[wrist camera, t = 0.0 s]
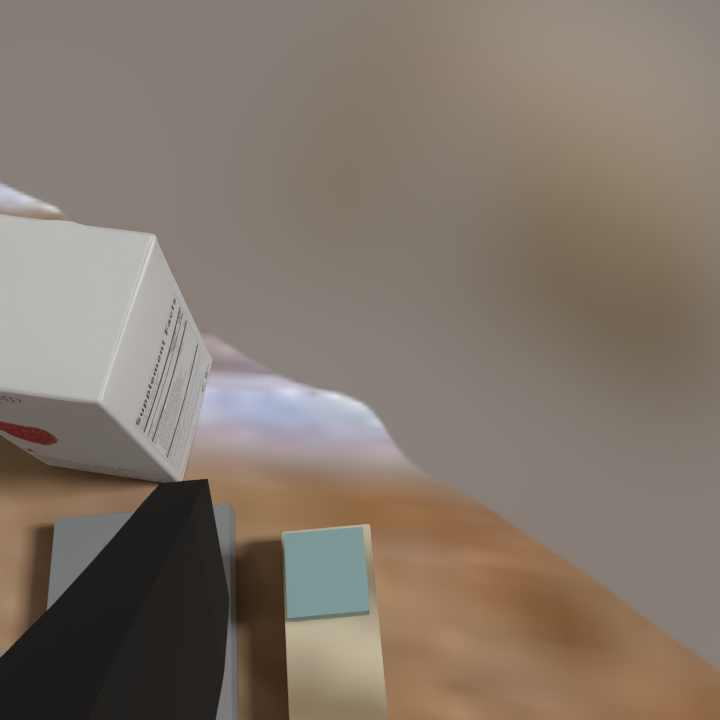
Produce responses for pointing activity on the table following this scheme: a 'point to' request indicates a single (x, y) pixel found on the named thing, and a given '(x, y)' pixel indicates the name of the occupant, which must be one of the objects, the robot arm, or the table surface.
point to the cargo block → (326, 574)
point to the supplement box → (96, 350)
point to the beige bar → (336, 659)
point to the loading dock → (92, 533)
